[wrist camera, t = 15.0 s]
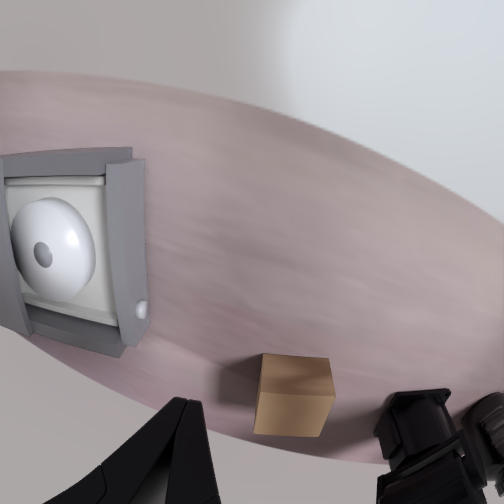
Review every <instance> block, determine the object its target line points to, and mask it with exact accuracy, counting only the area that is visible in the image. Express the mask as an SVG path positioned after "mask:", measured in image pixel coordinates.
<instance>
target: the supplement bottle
mask: <svg viewBox="0 0 504 504" xmlns="http://www.w3.org/2000/svg"><path fill="white" fill-rule="evenodd" d="M461 428H463V429H464V430H465V431H466V433H467V434H468V435H469V436H470V437H471V438H472V439H473V440H474V442H475V444H476V446H477V448H478V450H479V452H480V454H481V457H482V460H483V464H484V469H485V474H486V479H487V481H495V482H496V484H495V488H496V489H497V492H498V495H499V497H502V496H504V393H495V394H492V395H490V396H488V397H486V398H485V399H483V400H482V401H480V402H479V403H478V404H476V405H475V406H474V407H473V408H472V409H471V410H470V411H469V412H468V413H467V415H466V416H465V417H464V419H463V421H462V425H461Z"/></svg>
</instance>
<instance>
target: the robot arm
mask: <svg viewBox="0 0 504 504" xmlns="http://www.w3.org/2000/svg"><path fill="white" fill-rule="evenodd" d="M450 395H451V391H450V389H440V390H430V391H417V392H401V393H397V394H396V395H395V396H394V397H393V399H392V401H391V403H390V405H389V407H388V408H387V410H386V412H385V413H384V415H383V417H382V418H381V420H380V422H379V423H378V425H377V427H376V429H375V430H374V432H373V433H374V437H378V438H379V442H380V446H381V450H382V454H383V458H384V459H385V460H388V461H389V465H390V469H391V472H389V473H387V474H385V475H381V476H379V477H378V479H377V498H376V504H487V501H486V498H485V496H484V493H483V490H482V488H484V487H486V486H487V479H486V474H485V469H484V464H483V460H482V457H481V454H480V452H479V450H478V448H477V446H476V444H475V442H474V440H473V439H472V438H471V437H470V436H469V435H468V434H467V433H466V431H465V430H464V429H463V428H462V429H460V430H459V431H457V430H456V428H455V426H454V424H453V421H452V419H451V417H450V415H449V413H448V411H447V408H446V406H445V403H446V401H447V399H448V398H449V396H450ZM463 454H465V456H463V457H461V456H462V455H463ZM43 504H221V500H220V496H219V492H218V487H217V483H216V478H215V473H214V468H213V463H212V458H211V452H210V447H209V442H208V437H207V430H206V424H205V419H204V412H203V406H202V402H201V401H198V400H192V399H189V400H187V399H186V398H181V397H174V398H172V399H171V400H170V401H169V402H168V403H167V404H166V405H165V406H164V407H163V408H162V409H161V410H160V411H159V412H158V413H156V414H155V415H154V416H153V417H152V418H151V419H150V420H149V421H148V422H147V423H146V424H145V425H144V426H142V427H141V428H140V429H139V430H138V431H137V432H136V433H135V434H134V435H133V436H132V437H130V438H129V439H128V440H127V441H126V442H125V443H124V444H123V445H121V446H120V448H118V449H117V450H116V451H115V452H114V453H112V455H110V456H109V457H108V458H107V459H106V460H104V461H103V462H102V463H101V465H99V466H97V467H96V468H95V469H94V470H93V471H92V472H90V473H89V474H88V475H87V476H85V477H84V478H83V479H82V480H80V481H79V482H77V483H76V484H74V485H73V486H71V487H70V488H68V489H67V490H65V491H63V492H62V493H60V494H58V495H57V496H55V497H53V498H52V499H50V500H48V501H46V502H45V503H43Z"/></svg>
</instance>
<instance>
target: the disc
mask: <svg viewBox="0 0 504 504" xmlns="http://www.w3.org/2000/svg"><path fill="white" fill-rule="evenodd" d="M10 239H11V245H12V251H13V256H14V261H15V264H16V266H17V268H18V270H19V272H20V274H21V276H22V277H23V279H24V280H25V282H26V283H27V284H28V285H29V286H30V287H31V288H32V289H33V290H34V291H35V292H36V293H37V294H39V295H40V296H42V297H43V298H45V299H47V300H50V301H54V302H64V301H68V300H70V299H71V298H73V297H74V296H75V295H76V294H77V293H78V292H79V291H80V290H82V289H83V288H84V287H85V286H86V285H87V284H88V283H89V281H90V280H91V278H92V276H93V273H94V270H95V265H96V251H95V245H94V241H93V237H92V234H91V232H90V229H89V227H88V225H87V223H86V222H85V220H84V219H83V217H82V216H81V214H80V213H79V212H78V211H77V210H76V209H75V208H74V207H73V206H72V205H71V204H69V203H68V202H66V201H64V200H62V199H60V198H56V197H45V198H42V199H39V200H37V201H34V202H32V203H29V204H27V205H25V206H23V207H22V208H21V209H20V210H19V211H18V212H17V214H16V215H15V217H14V220H13V222H12V226H11V232H10Z"/></svg>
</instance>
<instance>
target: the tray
mask: <svg viewBox="0 0 504 504" xmlns="http://www.w3.org/2000/svg"><path fill="white" fill-rule="evenodd" d="M144 170H145V159H126V160H122V161H117V162H113V163H109V164H106V173H105V174H101V175H54V176H19V177H4V188H5V200H6V210H7V218H8V226H9V233H10V232H11V226H12V222H13V220H14V217H15V215H16V214H17V212H18V211H19V210H20V209H21V208H22V207H23V206H25V205H27V204H29V203H32V202H34V201H37V200H39V199H42V198H45V197H56V198H60V199H62V200H64V201H66V202H68V203H69V204H71V205H72V206H73V207H74V208H75V209H76V210H77V211H78V212H79V213H80V214H81V216H82V217H83V219H84V220H85V222H86V223H87V225H88V227H89V229H90V232H91V234H92V237H93V241H94V245H95V251H96V265H95V270H94V273H93V276H92V278H91V280H90V281H89V283H88V284H87V285H86V286H85V287H84V288H83V289H82V290H80V291H79V292H78V293H77V294H76V295H75V296H74V297H73V298H71V299H70V300H68V301H64V302H54V301H50V300H47V299H45V298H43V297H42V296H40V295H39V294H37V293H36V292H35V291H34V290H33V289H32V288H31V287H30V286H29V285H28V284H27V283H26V282H25V280H24V279H23V277H22V276H21V274H20V272H19V270H18V268H17V266H16V264H15V266H16V271H17V275H18V280H19V284H20V288H21V292H22V296H23V300H24V302H25V303H28V304H31V305H35V306H38V307H41V308H45V309H48V310H52V311H56V312H59V313H63V314H67V315H71V316H75V317H78V318H82V319H87V320H91V321H95V322H99V323H103V324H108V325H112V326H117V327H118V326H119V328H120V334H121V340H122V344H123V345H127V346H132V347H136V346H137V344H138V343H139V341H140V339H141V338H142V336H143V334H144V333H145V331H146V329H147V328H148V326H149V324H150V323H151V322H150V312H149V301H148V288H147V274H146V255H145V227H144Z"/></svg>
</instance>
